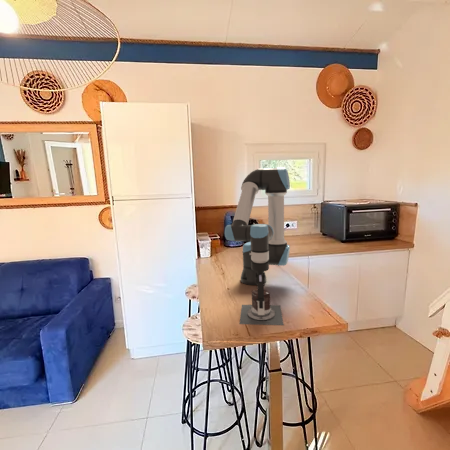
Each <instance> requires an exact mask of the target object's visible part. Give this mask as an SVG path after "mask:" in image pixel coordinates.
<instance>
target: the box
mask: <svg viewBox="0 0 450 450" xmlns="http://www.w3.org/2000/svg"><path fill="white" fill-rule="evenodd" d="M256 299H258V290H257V289H253V290H251V305H252V307H253V308H254V309H255V310H257V311H258V301H256ZM270 305H271V294H270V292H269V291H268V290H266V289H264V310H268V309H270Z"/></svg>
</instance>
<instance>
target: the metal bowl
mask: <svg viewBox="0 0 450 450" xmlns="http://www.w3.org/2000/svg"><path fill="white" fill-rule="evenodd" d="M247 314H248V317H249V318H251V319H253V320H257V321H267V320H270V319H272V318H274V316H275V312H274V310H273V309H271V307H270V309H268V310H264V314H265V315H258V311H257V310H255V309H254V308H253V307H251V308H250V309H249V310H248V312H247Z"/></svg>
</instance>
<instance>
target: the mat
mask: <svg viewBox="0 0 450 450" xmlns="http://www.w3.org/2000/svg"><path fill="white" fill-rule="evenodd" d="M251 307H252V304H241V309H240V316H239V325H252V326H253V325H254V326H255V325H256V326H257V325H259V326H285V324H284V318H283V314H282V308H281V305H279V304H270V307H271V309H273V310H274V312H275V316H274V318H272V319H270V320H267V321H257V320H253V319H251V318H249V317H248V314H247V312H248V310H249V309H250V308H251Z"/></svg>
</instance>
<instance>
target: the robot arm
mask: <svg viewBox="0 0 450 450" xmlns="http://www.w3.org/2000/svg"><path fill="white" fill-rule="evenodd" d="M290 183H291V182H290V175H289V172H288V170H287V168H286V167H271V168H270V167H269V168H268V167H267V168H257V169H255V170H254V169H253V170H252V171H250V173H249V174H248V175H246V176H245V178H244V179H243V181H242V184H241V187H240V189H241V193H240V197H239V201H238V204H237V205H236V209H235V213H234V216H233V219H232V223H231V224H227V225H226V226H225V227H224V237H225V239H226V240H227V241H230V242H231V241H232V242H246V243H244V244H243V245H242V270H241V275H240V282H241V283H242V284H244V285H250V286H256V287H257V288H256V290H258V299H256V301H258V315H265V314H264V290H265V285H266V282H267V275H266V272H267V271H268V270H269V269H270V266H277V267H280V266H283V267H284V266H286V265H287V264H288V262H289V257H290V250H291V246H290V244H288V241H287V240H286V239H285V195H287V192H288V190H290ZM260 191H264V193H265V195H266V196H267V198H268V199H267V200H268V201H267V213H268V224H267V223H255V224H251V225H250V224H249V221H250V217H251V214H252V210H253V205H254V201H255V198H256V195H257V194H258V193H259V192H260Z"/></svg>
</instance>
